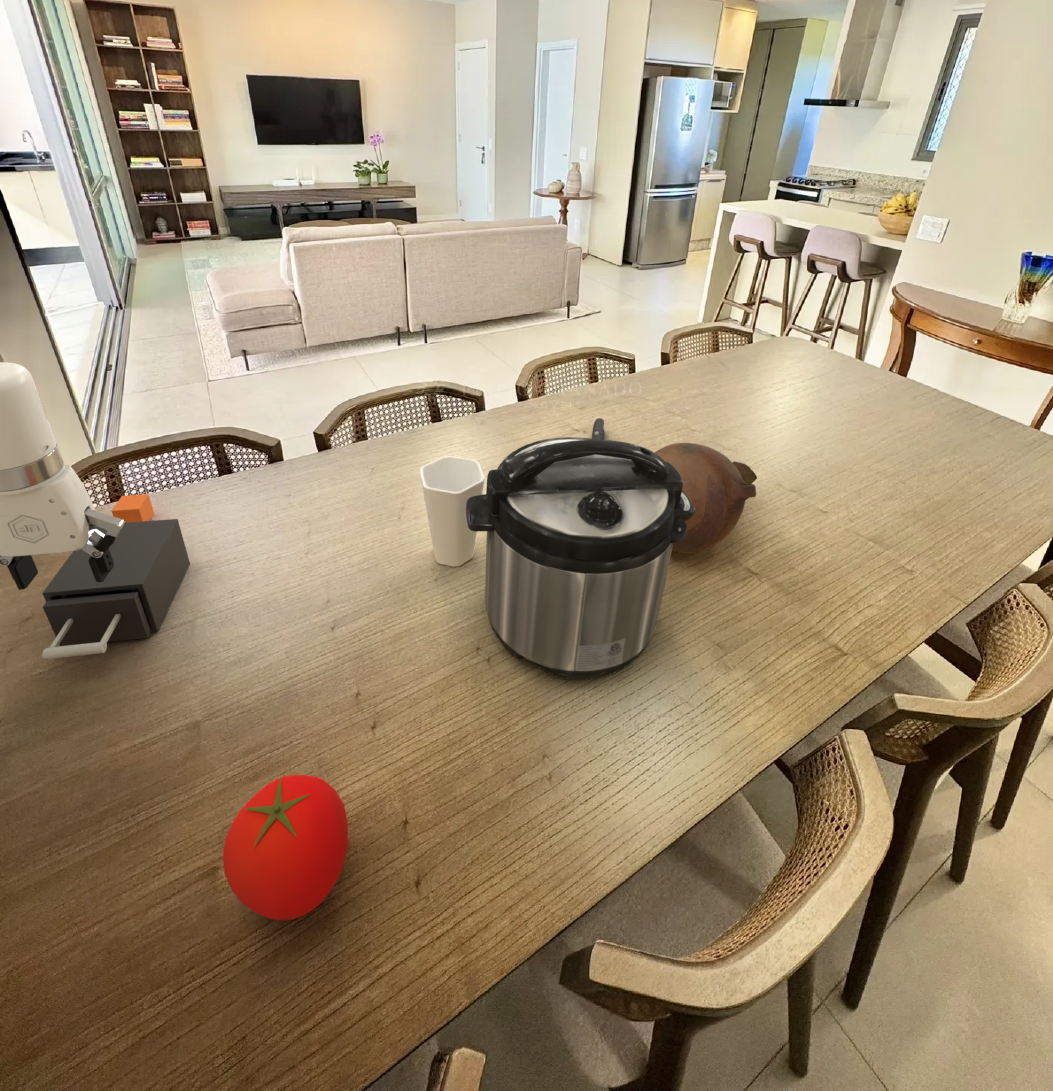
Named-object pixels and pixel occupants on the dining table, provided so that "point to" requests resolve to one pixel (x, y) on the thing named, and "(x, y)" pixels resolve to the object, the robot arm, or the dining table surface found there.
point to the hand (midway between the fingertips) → (67, 577)
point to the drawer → (94, 621)
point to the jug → (709, 492)
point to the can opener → (598, 429)
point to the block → (133, 508)
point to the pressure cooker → (578, 551)
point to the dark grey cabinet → (132, 567)
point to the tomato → (287, 847)
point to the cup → (451, 506)
